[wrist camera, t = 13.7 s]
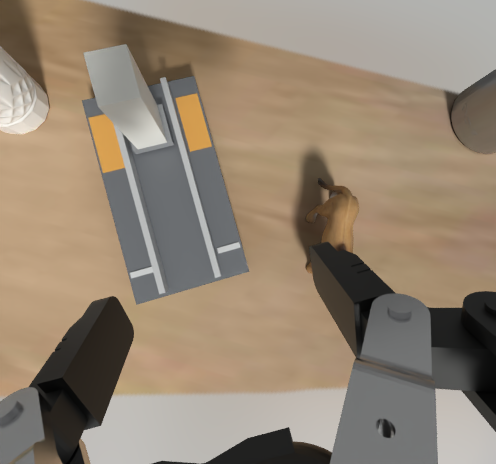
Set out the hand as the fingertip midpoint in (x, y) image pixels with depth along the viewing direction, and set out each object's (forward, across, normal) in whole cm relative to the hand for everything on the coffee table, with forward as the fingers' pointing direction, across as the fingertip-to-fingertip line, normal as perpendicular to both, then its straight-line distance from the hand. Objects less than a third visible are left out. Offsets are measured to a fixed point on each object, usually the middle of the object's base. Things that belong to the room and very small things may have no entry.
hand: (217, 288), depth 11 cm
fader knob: (+21, +5, -6) cm, 23 cm away
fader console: (+22, +6, 0) cm, 22 cm away
